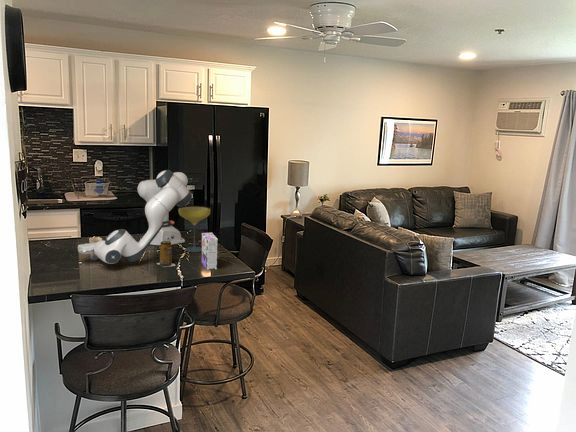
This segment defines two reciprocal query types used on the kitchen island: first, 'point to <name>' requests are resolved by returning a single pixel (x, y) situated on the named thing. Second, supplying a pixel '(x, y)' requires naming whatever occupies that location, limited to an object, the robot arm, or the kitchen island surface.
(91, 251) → the robot arm
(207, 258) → the candy box
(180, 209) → the cocktail glass
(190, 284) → the kitchen island surface
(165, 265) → the condiment
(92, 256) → the flip block
